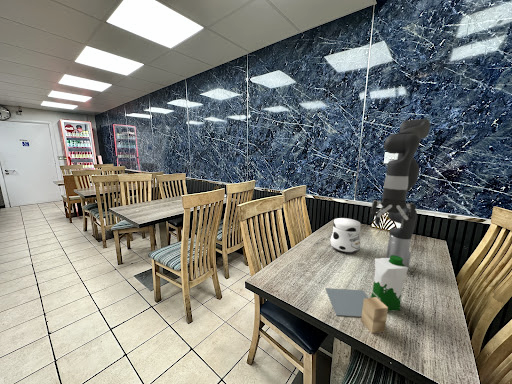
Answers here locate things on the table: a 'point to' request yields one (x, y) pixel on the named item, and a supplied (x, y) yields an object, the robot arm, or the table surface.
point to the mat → (347, 301)
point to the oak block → (374, 314)
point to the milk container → (346, 235)
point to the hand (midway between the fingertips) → (389, 226)
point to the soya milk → (389, 281)
